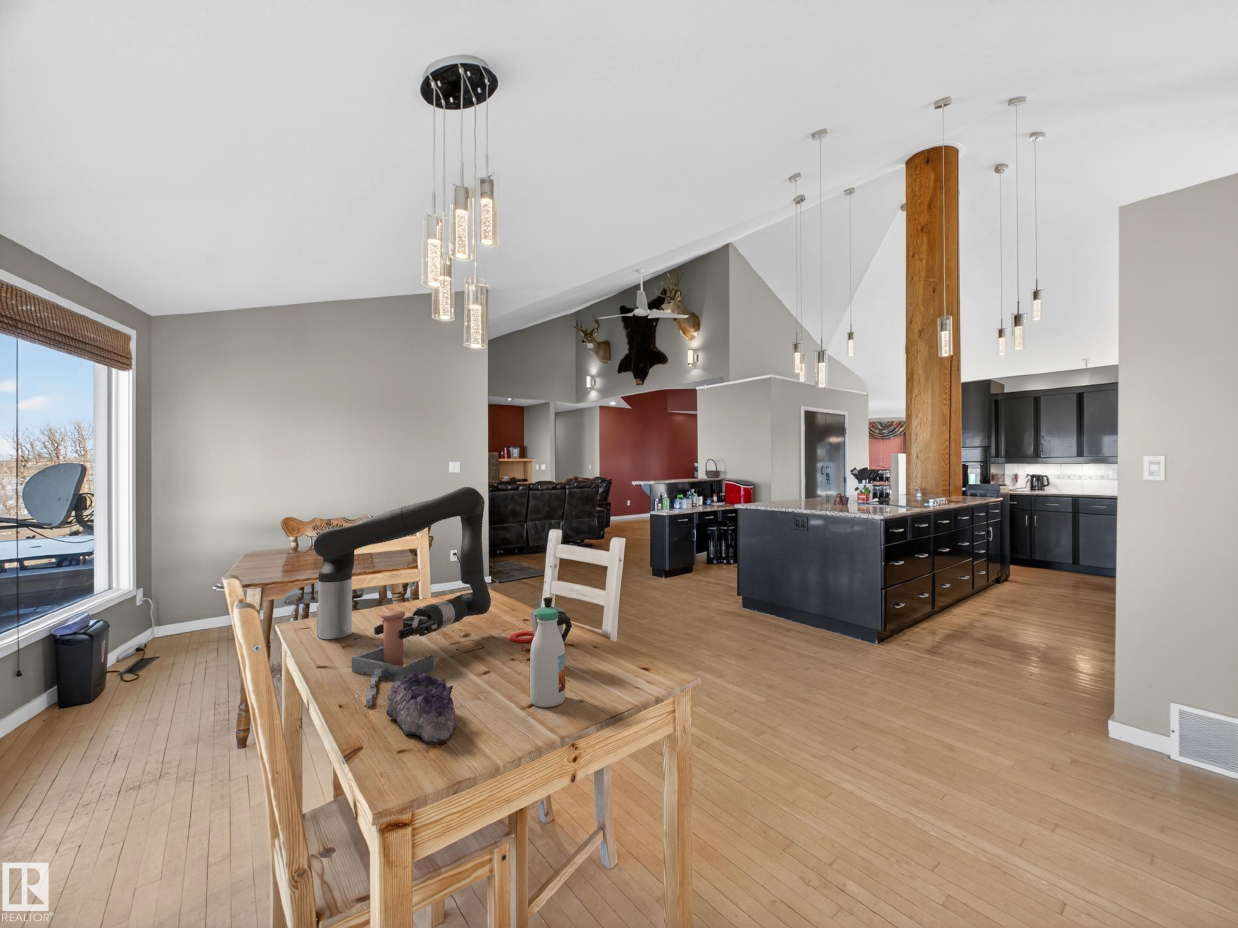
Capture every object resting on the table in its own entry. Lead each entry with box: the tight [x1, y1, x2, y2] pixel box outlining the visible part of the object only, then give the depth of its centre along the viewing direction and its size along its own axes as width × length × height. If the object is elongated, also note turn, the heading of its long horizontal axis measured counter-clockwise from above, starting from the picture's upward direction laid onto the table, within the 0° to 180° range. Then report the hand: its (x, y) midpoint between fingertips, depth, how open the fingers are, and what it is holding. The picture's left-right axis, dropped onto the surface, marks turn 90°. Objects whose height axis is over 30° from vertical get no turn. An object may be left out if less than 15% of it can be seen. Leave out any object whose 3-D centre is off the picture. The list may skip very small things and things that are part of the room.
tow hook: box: [509, 592, 542, 644], centre depth 166 cm, size 9×14×10 cm
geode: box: [385, 672, 457, 745], centre depth 111 cm, size 20×12×10 cm, turn 42°
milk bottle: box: [529, 609, 566, 708], centre depth 122 cm, size 8×8×20 cm
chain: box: [365, 675, 380, 708], centre depth 127 cm, size 2×17×2 cm, turn 20°
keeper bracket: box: [351, 645, 435, 682], centre depth 140 cm, size 18×11×4 cm, turn 65°
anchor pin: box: [380, 609, 406, 666], centre depth 140 cm, size 6×6×15 cm
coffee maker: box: [530, 596, 573, 643], centre depth 141 cm, size 15×9×18 cm, turn 47°
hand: (387, 633), depth 139 cm, fingers open, 8 cm apart
